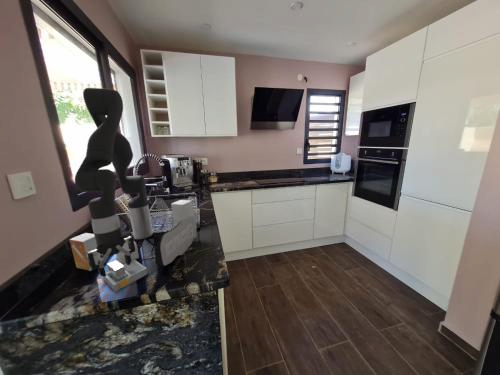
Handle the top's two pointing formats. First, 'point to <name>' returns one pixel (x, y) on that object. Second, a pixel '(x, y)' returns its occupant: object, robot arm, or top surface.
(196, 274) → the top surface
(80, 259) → the small box
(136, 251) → the medicine bottle
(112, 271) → the panel
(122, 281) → the rack tray
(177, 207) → the supplement box
